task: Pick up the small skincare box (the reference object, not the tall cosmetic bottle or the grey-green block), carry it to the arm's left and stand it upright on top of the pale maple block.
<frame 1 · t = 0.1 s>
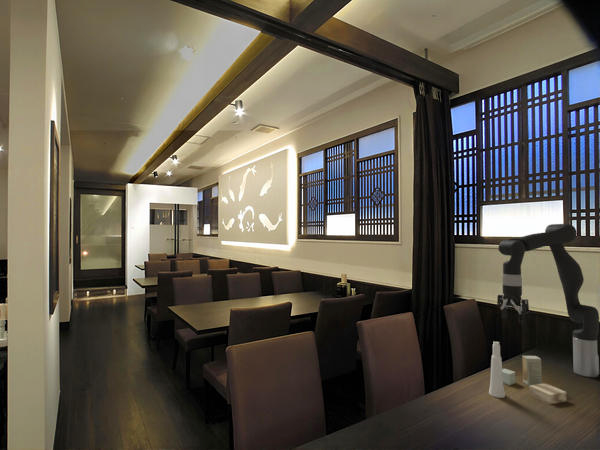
hand: (512, 320, 159), 29 cm above the table, fingers open, 8 cm apart
greygreen block: (507, 382, 161), on the table
cosmetic bottle: (496, 395, 148), on the table
skincare box: (532, 384, 159), on the table
maple block: (547, 398, 146), on the table
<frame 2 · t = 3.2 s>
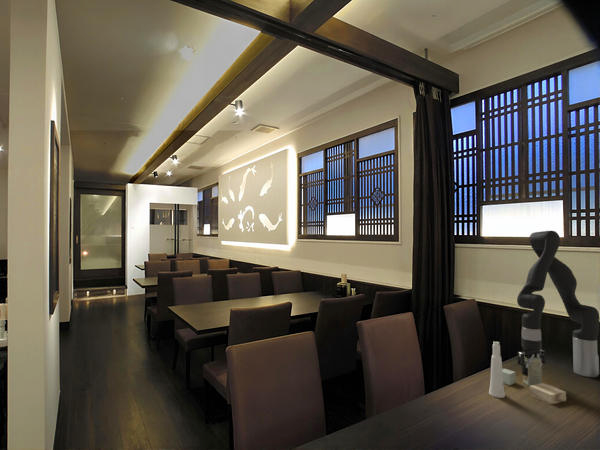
hand: (531, 374, 159), 4 cm above the table, fingers closed on skincare box, 7 cm apart
skincare box: (532, 384, 159), on the table, touching gripper
everything else where it was.
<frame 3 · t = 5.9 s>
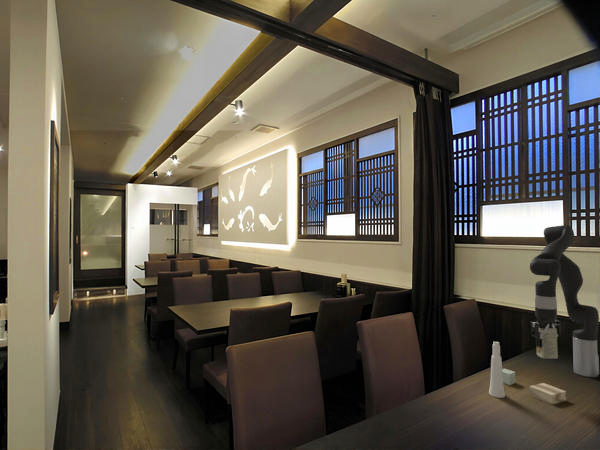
hand: (546, 346, 147), 21 cm above the table, fingers closed on skincare box, 7 cm apart
skincare box: (546, 357, 146), point 16 cm above the table, touching gripper
everything else where it was.
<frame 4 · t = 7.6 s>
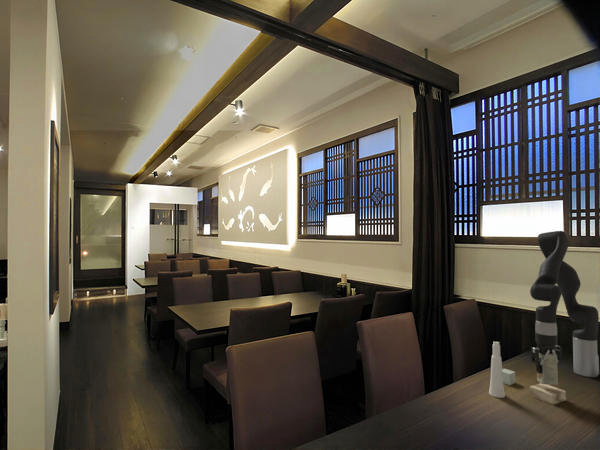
hand: (546, 371, 146), 10 cm above the table, fingers closed on skincare box, 7 cm apart
skincare box: (547, 383, 146), point 6 cm above the table, touching gripper
everything else where it was.
when the fingers open (9 cm above the table, at t = 9.0 s): skincare box drops 1 cm, resting on maple block.
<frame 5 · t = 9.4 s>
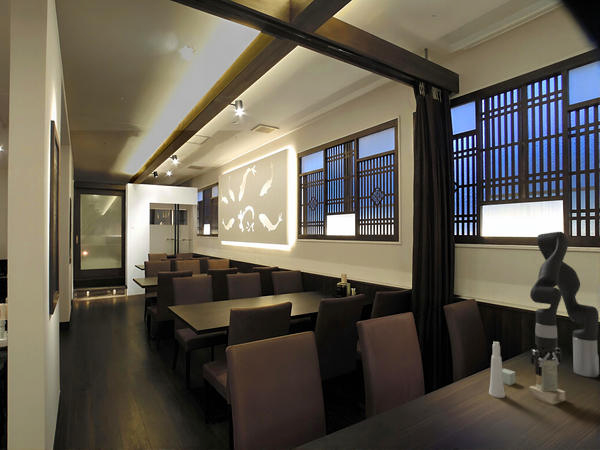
hand: (546, 374, 146), 10 cm above the table, fingers open, 8 cm apart
skincare box: (546, 389, 145), point 3 cm above the table, touching maple block
maple block: (546, 398, 146), on the table, touching skincare box
everything else where it was.
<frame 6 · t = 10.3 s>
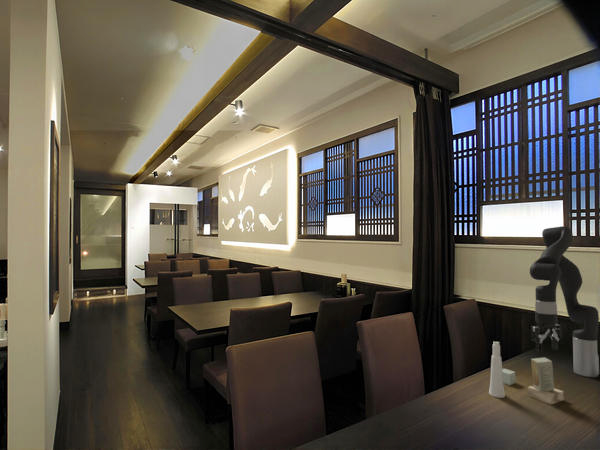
hand: (547, 350, 146), 19 cm above the table, fingers open, 8 cm apart
skincare box: (543, 389, 145), point 4 cm above the table, touching maple block
everything else where it was.
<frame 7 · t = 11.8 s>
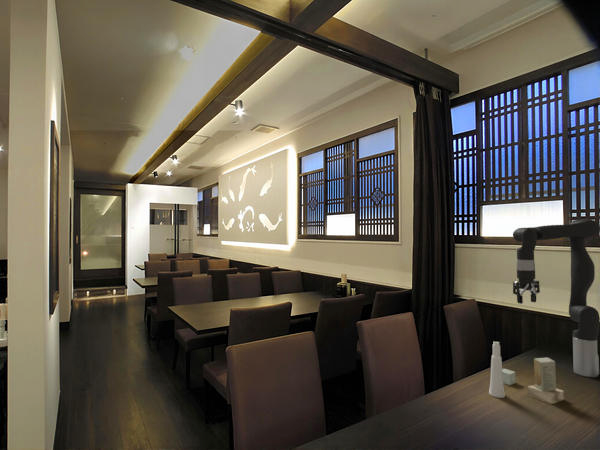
hand: (526, 302, 169), 35 cm above the table, fingers open, 8 cm apart
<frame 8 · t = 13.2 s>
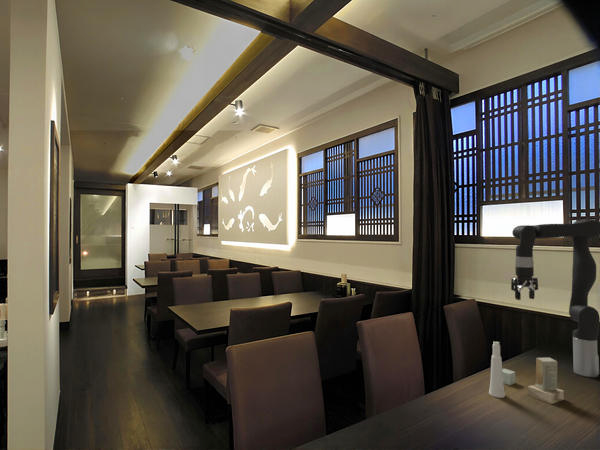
hand: (524, 299, 172), 36 cm above the table, fingers open, 8 cm apart
skincare box: (545, 388, 146), point 3 cm above the table
maple block: (545, 398, 146), on the table
everything else where it was.
at the end: skincare box inside the target area on the maple block (0.3 cm from its centre), point 3.9 cm above the maple block's base; skincare box tilted 2°; the gripper is holding nothing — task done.
